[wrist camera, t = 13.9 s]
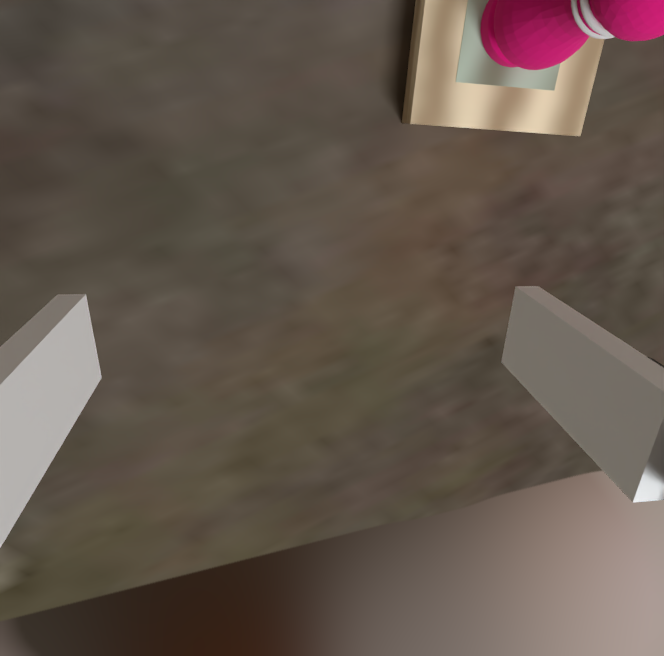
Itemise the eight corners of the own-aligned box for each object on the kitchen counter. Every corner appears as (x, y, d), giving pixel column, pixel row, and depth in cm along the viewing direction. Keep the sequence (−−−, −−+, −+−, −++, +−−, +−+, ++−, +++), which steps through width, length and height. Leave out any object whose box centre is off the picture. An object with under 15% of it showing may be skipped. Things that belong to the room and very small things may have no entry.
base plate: (401, 123, 45) (410, 123, 42) (426, -95, 39) (438, -111, 36) (562, 134, 47) (580, 136, 45) (610, -70, 41) (635, -83, 38)
